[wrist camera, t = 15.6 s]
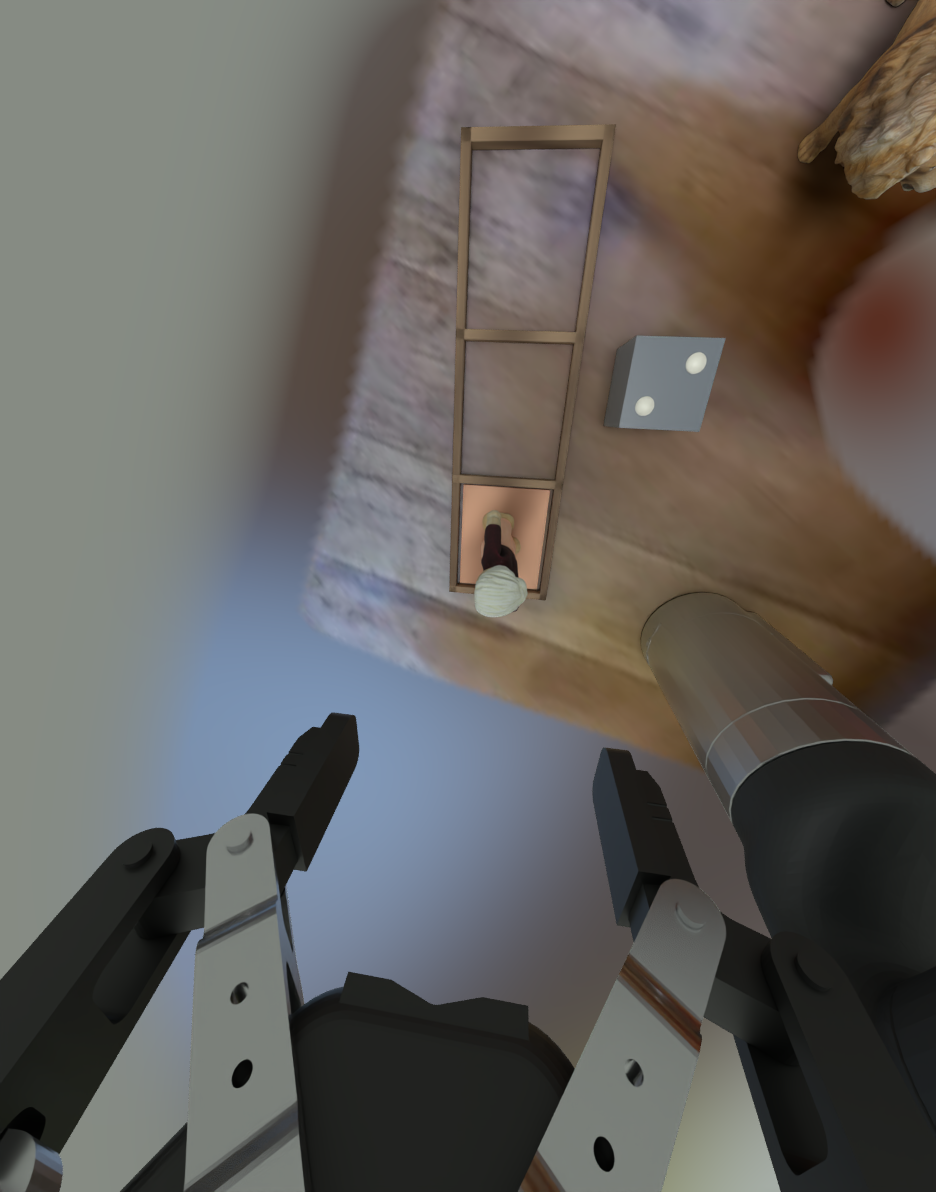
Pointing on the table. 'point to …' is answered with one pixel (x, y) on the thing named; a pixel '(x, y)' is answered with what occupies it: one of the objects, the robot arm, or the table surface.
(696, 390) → the die
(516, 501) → the board
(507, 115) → the table surface
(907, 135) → the lion figurine
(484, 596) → the grandmother figurine
